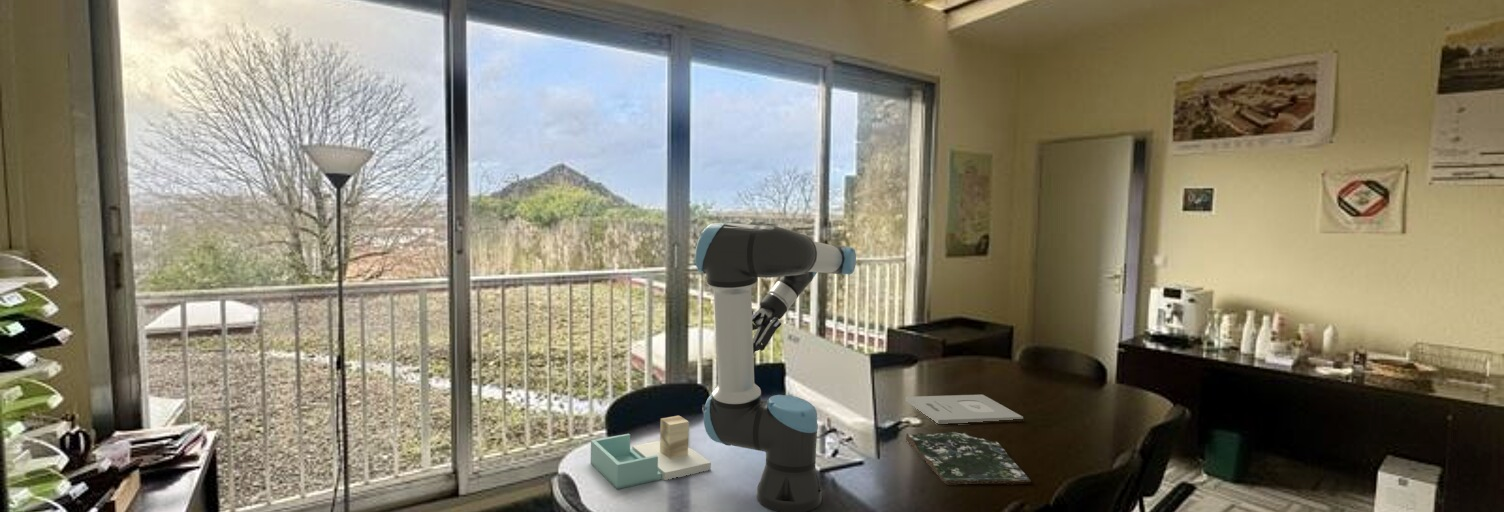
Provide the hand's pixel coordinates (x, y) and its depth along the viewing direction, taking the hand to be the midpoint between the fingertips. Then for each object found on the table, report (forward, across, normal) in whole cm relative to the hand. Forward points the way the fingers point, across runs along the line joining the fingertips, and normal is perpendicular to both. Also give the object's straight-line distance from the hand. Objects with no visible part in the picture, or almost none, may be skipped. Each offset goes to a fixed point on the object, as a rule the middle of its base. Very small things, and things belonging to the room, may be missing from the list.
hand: (728, 362), depth 182 cm
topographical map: (-21, -38, -57) cm, 72 cm away
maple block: (+27, 0, -5) cm, 28 cm away
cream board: (+30, 0, -5) cm, 30 cm away
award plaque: (-45, -9, -81) cm, 93 cm away
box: (+39, 0, +4) cm, 39 cm away
